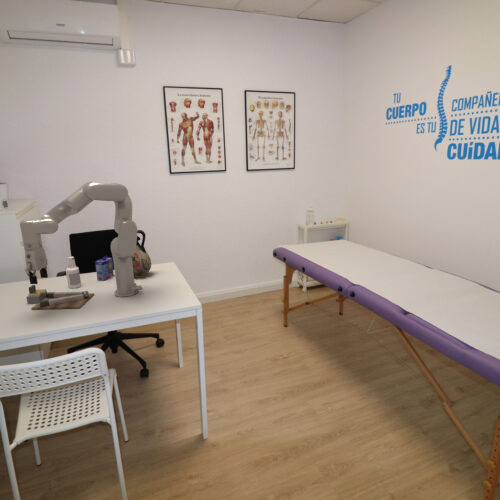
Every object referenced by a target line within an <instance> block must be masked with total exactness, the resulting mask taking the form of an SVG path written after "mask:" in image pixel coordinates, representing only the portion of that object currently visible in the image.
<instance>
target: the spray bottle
mask: <svg viewBox="0 0 500 500" xmlns="http://www.w3.org/2000/svg"><path fill="white" fill-rule="evenodd" d="M66 259H67V260H66V261H67V262H66V263H67V268H66V269H65V273H66V275H65V276H66V280H67V287H68V289H70V290H71V289H78V288H81V287H82V281H81V274H80V269H79V266H77V265H76V260H75V257H74V256H68V257H67V258H66Z"/></svg>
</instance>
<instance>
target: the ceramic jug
mask: <svg viewBox="0 0 500 500" xmlns="http://www.w3.org/2000/svg"><path fill="white" fill-rule="evenodd" d="M138 234H140V235H142V239H141V237H140V236H139V235H138ZM146 237H147V235H146V233H145V231H144V230H141V229H137V242H136V250H135V253H134V255H133V256H131V257H132V264H133V274H134V279H136V278H137V279H139V278H140V277H141V278H145V277H146V276H148V275H149V274H148V273H149V271H150V270H151V268H152V260H151V257H150V255H149V253H148V252H147V250H146V248H145V241H146ZM139 241H141V243H140V242H139ZM144 276H145V277H144Z"/></svg>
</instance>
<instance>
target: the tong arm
mask: <svg viewBox="0 0 500 500" xmlns="http://www.w3.org/2000/svg"><path fill="white" fill-rule="evenodd" d="M81 292H82V294H79V295H73V296H67V297H61V298H55V299H49V300H43V301H40V307H43V306H49V305H55V304H61V303H67V302H72V301H78V300H84V299H86V298H89V293H90V292H89V291H88V290H84V291H81Z"/></svg>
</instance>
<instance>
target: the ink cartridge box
mask: <svg viewBox="0 0 500 500" xmlns="http://www.w3.org/2000/svg"><path fill="white" fill-rule="evenodd" d="M94 262H95V271H96V280H97V281H102V282H104V281H107V280H108V279H111V278H113V277H115V271H114V262H113V257H108V255H105V256H103V257H102V258H101V259H98V260H96V261H94Z"/></svg>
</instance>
